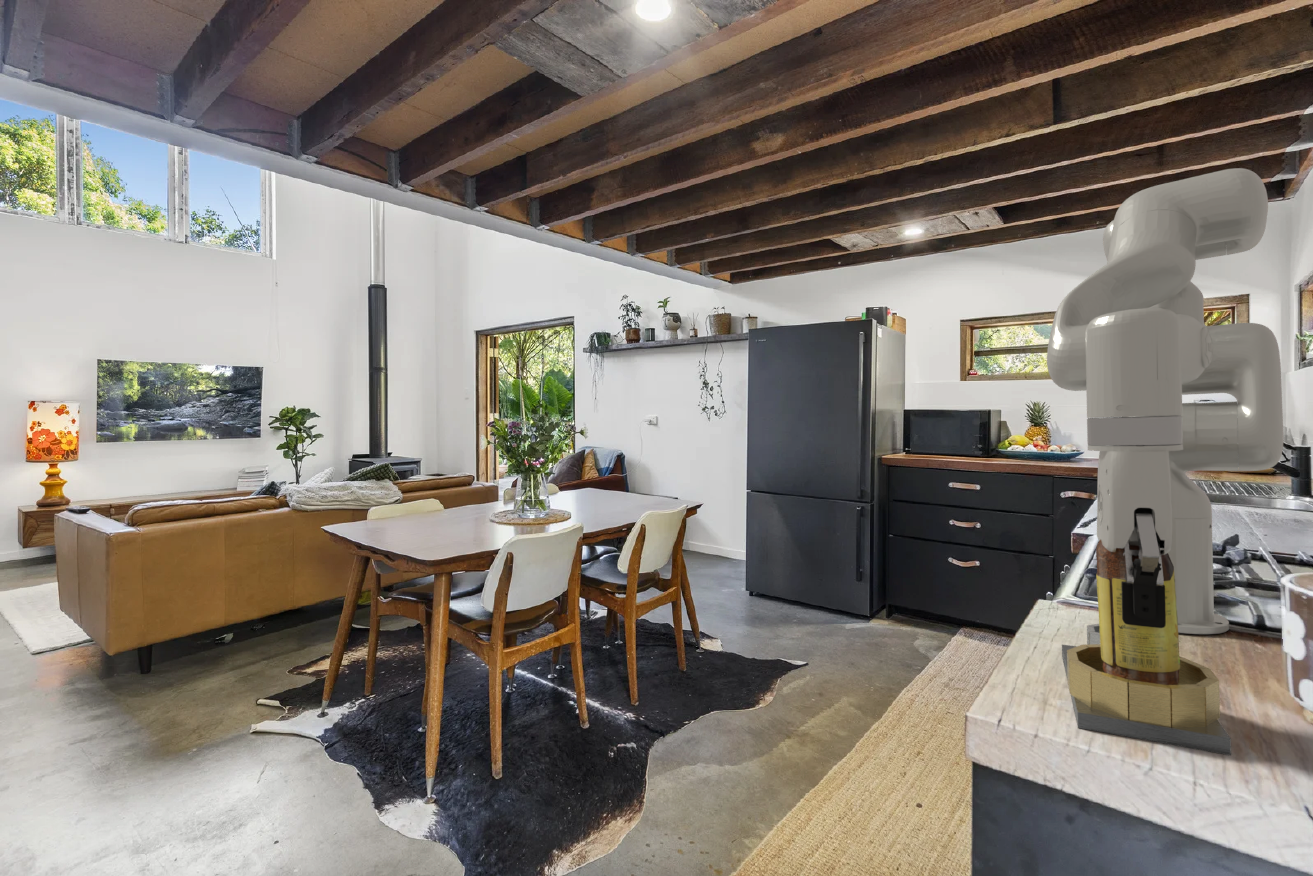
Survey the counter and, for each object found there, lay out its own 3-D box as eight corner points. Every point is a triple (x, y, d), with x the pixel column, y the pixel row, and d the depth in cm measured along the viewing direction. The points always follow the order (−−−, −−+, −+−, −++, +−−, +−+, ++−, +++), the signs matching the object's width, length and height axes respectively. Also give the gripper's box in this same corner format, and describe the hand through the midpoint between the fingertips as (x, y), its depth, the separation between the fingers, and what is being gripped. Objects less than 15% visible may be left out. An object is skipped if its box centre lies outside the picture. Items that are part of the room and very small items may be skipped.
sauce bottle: (1197, 689, 59) (1193, 482, 59) (1144, 696, 58) (1140, 485, 57) (1131, 663, 65) (1127, 477, 65) (1082, 670, 64) (1078, 480, 64)
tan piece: (1059, 656, 77) (1058, 616, 77) (1178, 672, 71) (1177, 629, 71) (1074, 727, 59) (1073, 675, 59) (1235, 756, 53) (1234, 698, 53)
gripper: (1079, 435, 71) (1082, 591, 71) (1097, 438, 56) (1102, 636, 56) (1162, 433, 67) (1166, 598, 67) (1206, 436, 52) (1210, 648, 52)
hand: (1137, 613), depth 61 cm, fingers closed on sauce bottle, 6 cm apart
